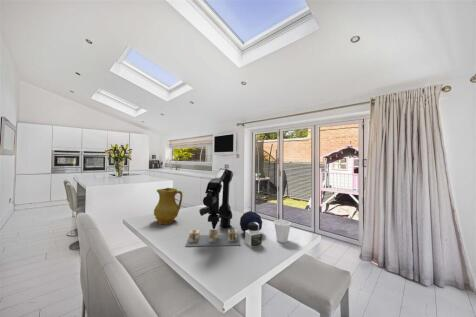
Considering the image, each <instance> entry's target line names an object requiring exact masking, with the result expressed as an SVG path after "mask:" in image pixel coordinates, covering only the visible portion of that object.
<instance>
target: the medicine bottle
mask: <svg viewBox="0 0 476 317" xmlns="http://www.w3.org/2000/svg"><path fill="white" fill-rule="evenodd" d="M244 243H245V244H246V245H247V246H248V247H249V248H257V247H260V246H263V233H262V232H261V231H259V224H258V223H256V222H251V223H249V224H248V230H246V231H245V233H244Z"/></svg>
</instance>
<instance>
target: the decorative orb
mask: <svg viewBox="0 0 476 317" xmlns="http://www.w3.org/2000/svg"><path fill="white" fill-rule="evenodd" d="M251 222H256V223H258V224H259V232H261V231H260V230H262V226H263V220H262V218H261V215H260V214H258V212H255V211H251V210H248V211H246V212H244V213H243V214H242V215H241V217H240V221H239V226H240V230H241V231H242V232H243V233H244V234H245V231H246V230H248V224H249V223H251Z"/></svg>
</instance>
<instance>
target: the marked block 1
mask: <svg viewBox="0 0 476 317" xmlns="http://www.w3.org/2000/svg"><path fill="white" fill-rule="evenodd" d="M189 235H190V237H189V236H188V238H189V242H198V241H199V235H200V229H190V231H189Z"/></svg>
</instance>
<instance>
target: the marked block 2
mask: <svg viewBox="0 0 476 317" xmlns="http://www.w3.org/2000/svg"><path fill="white" fill-rule="evenodd" d="M227 235H228V241H237V235H238V232H237V229H236V228H235V229H233V228H232V229H231V228H230V229H229V228H228V230H227Z"/></svg>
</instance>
